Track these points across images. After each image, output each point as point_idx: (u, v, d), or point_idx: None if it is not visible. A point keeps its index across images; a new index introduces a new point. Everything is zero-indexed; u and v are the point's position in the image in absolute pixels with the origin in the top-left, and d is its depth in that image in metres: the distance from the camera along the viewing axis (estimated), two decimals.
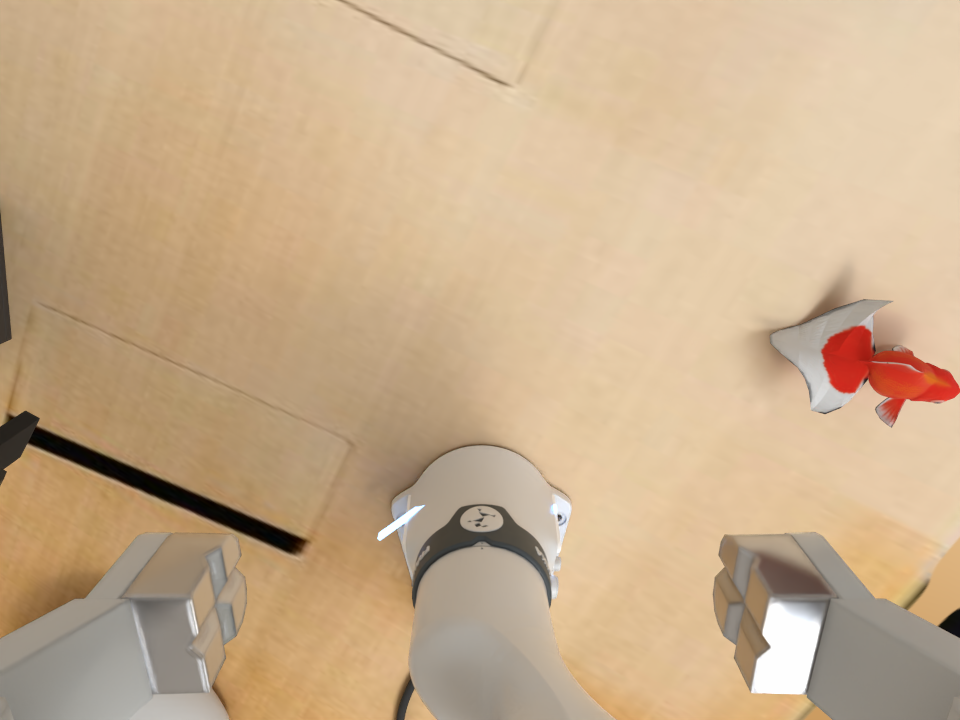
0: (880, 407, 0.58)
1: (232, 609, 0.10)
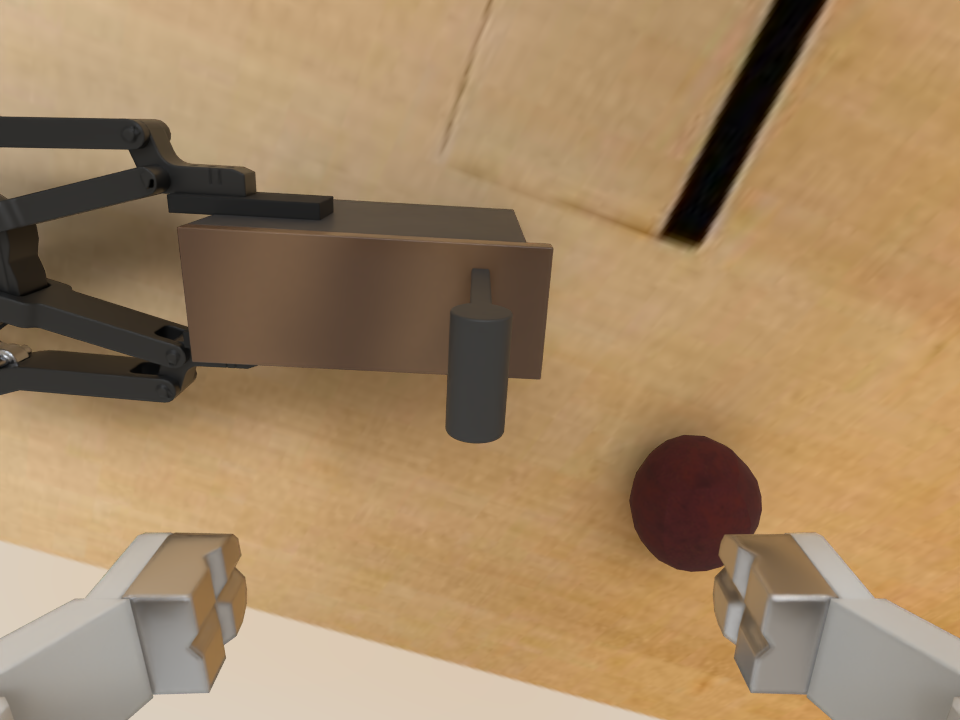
0: None
1: (232, 609, 0.10)
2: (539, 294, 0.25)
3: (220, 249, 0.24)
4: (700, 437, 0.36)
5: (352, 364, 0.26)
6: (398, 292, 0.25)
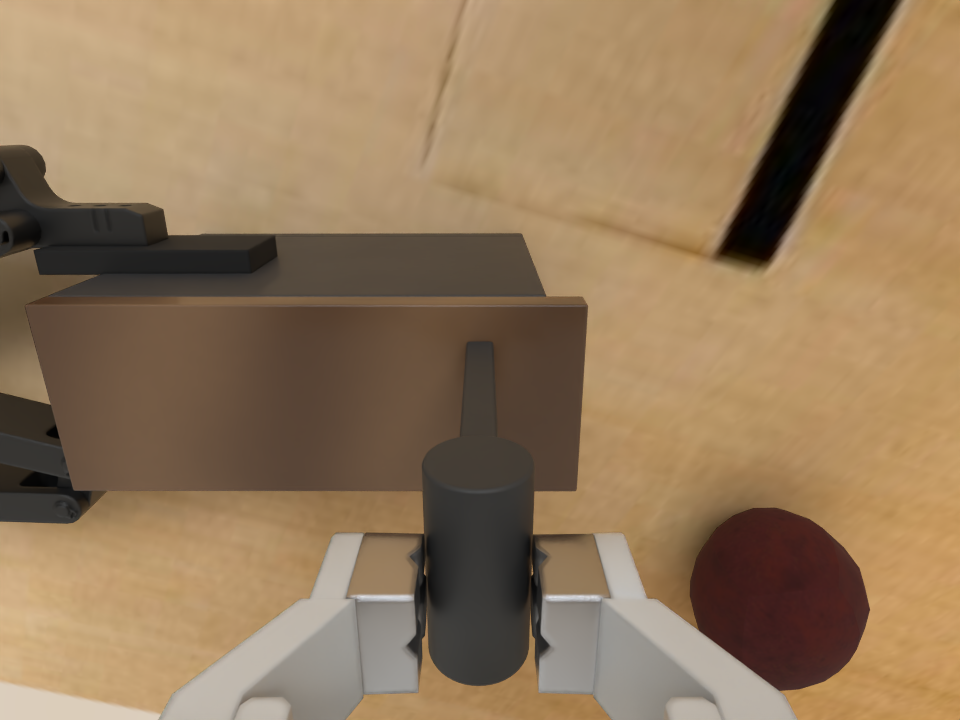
0: None
1: (424, 609, 0.10)
2: (570, 372, 0.17)
3: (92, 333, 0.16)
4: (780, 513, 0.28)
5: (302, 483, 0.18)
6: (360, 381, 0.17)
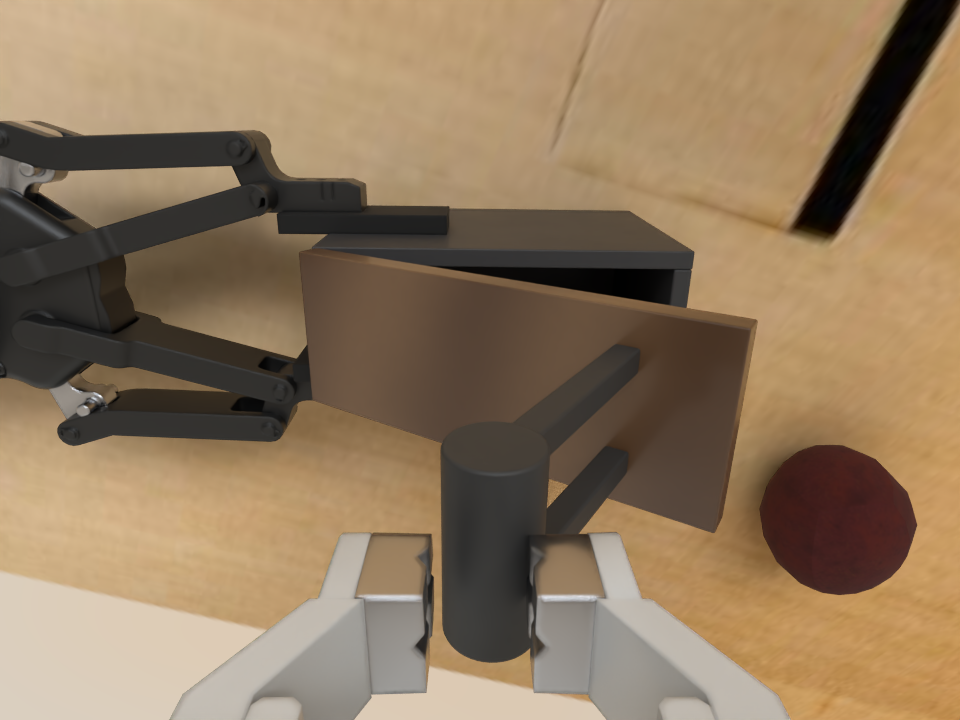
0: None
1: (431, 609, 0.10)
2: (722, 400, 0.15)
3: (334, 280, 0.21)
4: (840, 447, 0.33)
5: None
6: (515, 361, 0.18)
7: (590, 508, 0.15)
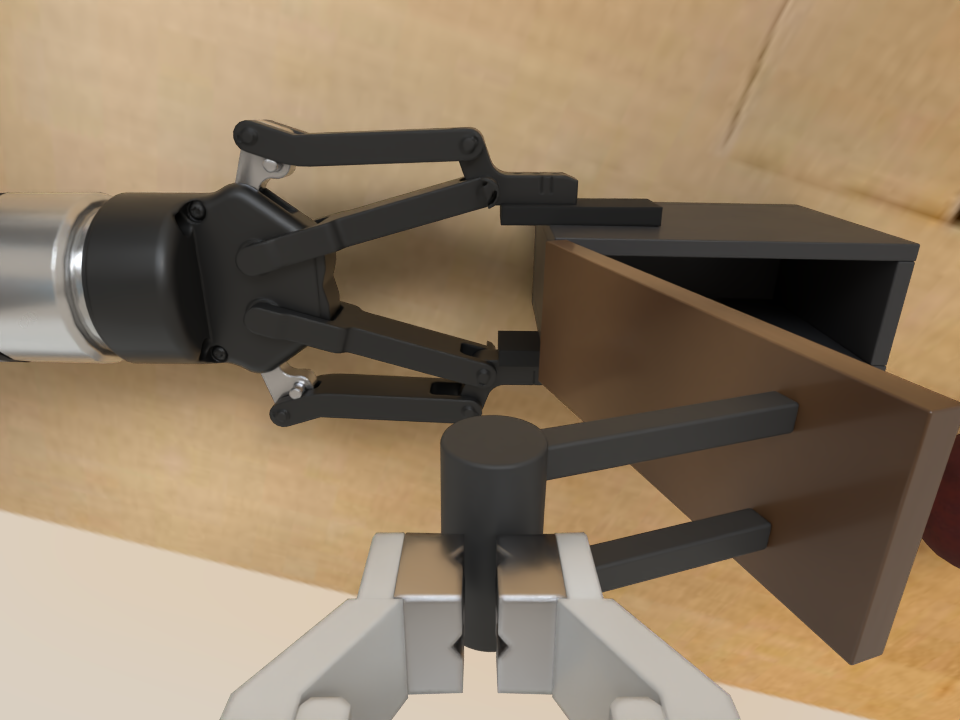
0: None
1: (464, 609, 0.10)
2: (882, 497, 0.11)
3: (564, 272, 0.21)
4: None
5: None
6: (683, 385, 0.16)
7: (671, 560, 0.13)
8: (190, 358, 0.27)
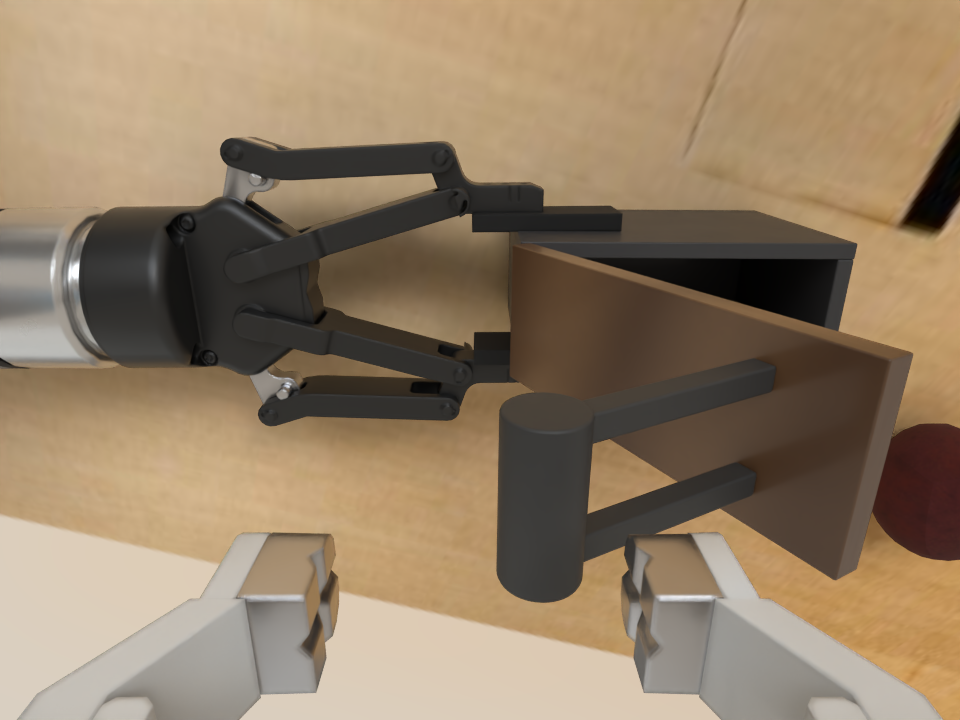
0: None
1: (330, 609, 0.10)
2: (853, 435, 0.14)
3: (534, 272, 0.23)
4: (945, 425, 0.36)
5: None
6: (665, 363, 0.18)
7: (683, 510, 0.15)
8: (182, 362, 0.28)
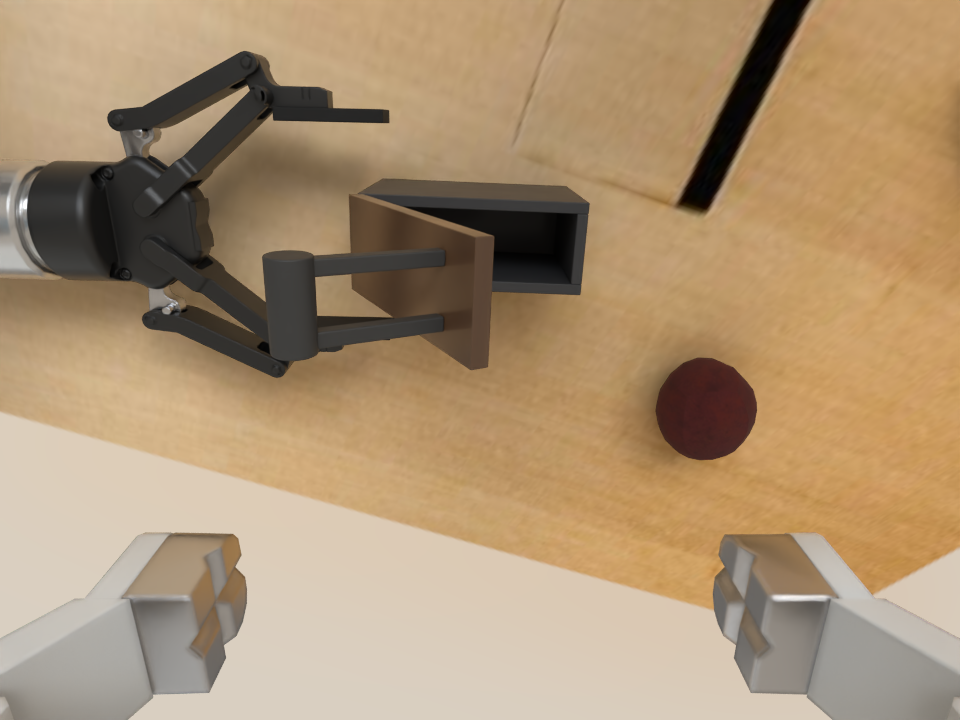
0: None
1: (232, 609, 0.10)
2: (469, 282, 0.25)
3: (358, 211, 0.34)
4: (709, 359, 0.48)
5: (395, 314, 0.32)
6: None
7: (389, 330, 0.26)
8: (103, 274, 0.39)
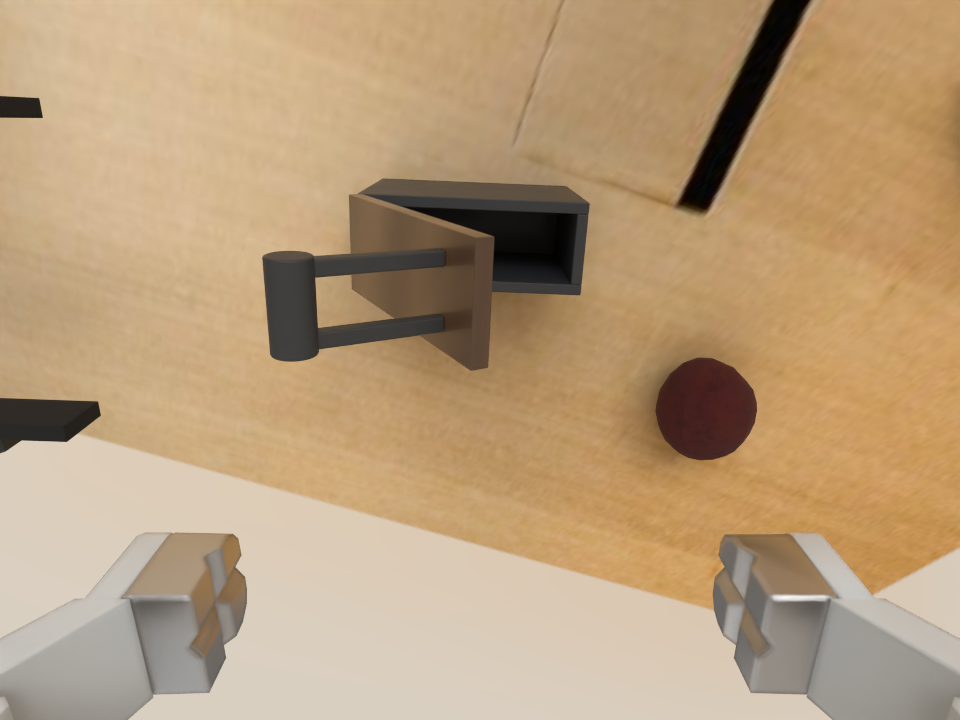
0: None
1: (232, 609, 0.10)
2: (469, 282, 0.25)
3: (358, 212, 0.34)
4: (709, 359, 0.48)
5: (395, 314, 0.32)
6: None
7: (389, 331, 0.26)
8: None
